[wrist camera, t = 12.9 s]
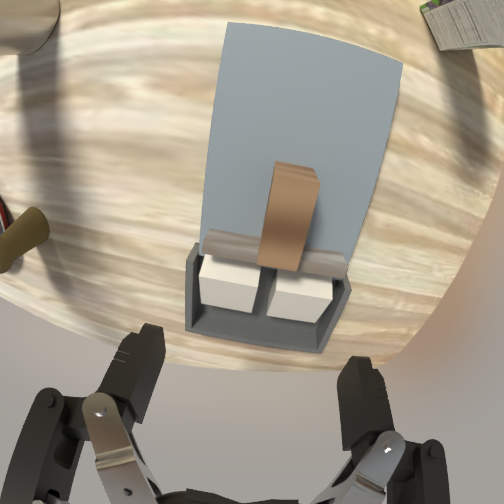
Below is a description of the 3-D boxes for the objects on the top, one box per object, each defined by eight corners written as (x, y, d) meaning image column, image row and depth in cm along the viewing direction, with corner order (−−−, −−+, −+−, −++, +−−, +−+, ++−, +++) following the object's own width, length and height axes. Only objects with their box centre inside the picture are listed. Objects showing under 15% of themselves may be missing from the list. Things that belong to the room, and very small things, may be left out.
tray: (195, 242, 32) (185, 260, 29) (345, 269, 32) (351, 290, 29) (192, 310, 38) (185, 331, 34) (318, 332, 38) (321, 353, 34)
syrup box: (453, 6, 14) (534, -16, 1) (473, 51, 16) (562, 50, 4) (417, 6, 15) (497, -30, 3) (439, 53, 18) (533, 45, 5)
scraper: (218, 151, 24) (204, 163, 20) (365, 181, 24) (382, 199, 20) (208, 238, 29) (196, 265, 25) (339, 262, 29) (347, 291, 25)
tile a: (278, 266, 30) (275, 290, 28) (331, 275, 30) (332, 299, 28) (269, 293, 34) (266, 315, 32) (315, 301, 34) (315, 322, 32)
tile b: (205, 252, 30) (198, 276, 28) (261, 263, 30) (257, 287, 28) (206, 282, 34) (201, 303, 32) (254, 291, 34) (251, 312, 32)
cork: (54, 230, 33) (7, 270, 24) (40, 247, 35) (-1, 286, 26) (33, 199, 31) (-17, 233, 22) (21, 219, 33) (-23, 253, 24)
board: (232, 28, 20) (227, 22, 18) (393, 65, 20) (403, 63, 18) (204, 243, 32) (198, 255, 30) (337, 268, 32) (341, 280, 30)
